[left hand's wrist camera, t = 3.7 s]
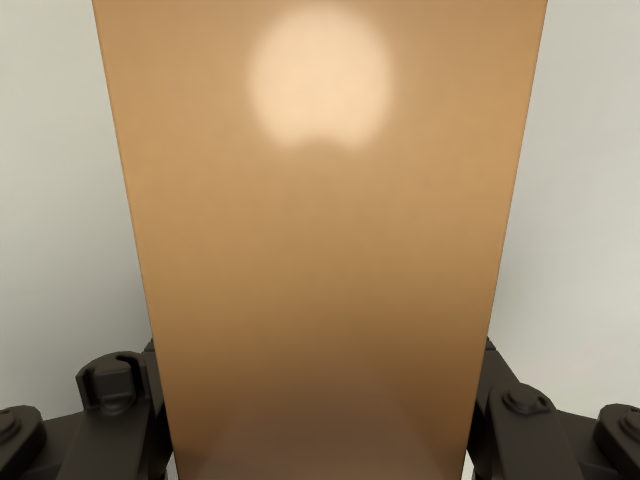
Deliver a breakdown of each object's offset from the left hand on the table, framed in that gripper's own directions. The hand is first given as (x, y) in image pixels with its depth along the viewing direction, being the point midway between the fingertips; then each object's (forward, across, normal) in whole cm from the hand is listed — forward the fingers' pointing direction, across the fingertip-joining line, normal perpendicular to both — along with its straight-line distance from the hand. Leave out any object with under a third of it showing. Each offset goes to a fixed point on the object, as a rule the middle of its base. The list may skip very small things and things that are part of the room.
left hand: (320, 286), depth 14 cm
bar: (+1, 0, -10) cm, 10 cm away
